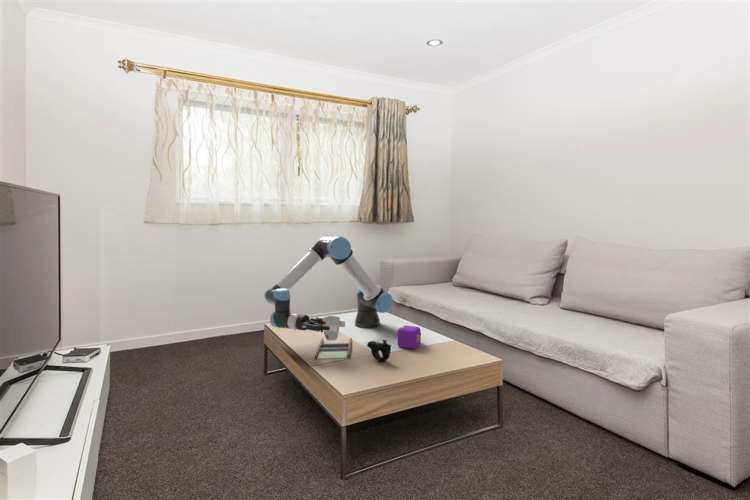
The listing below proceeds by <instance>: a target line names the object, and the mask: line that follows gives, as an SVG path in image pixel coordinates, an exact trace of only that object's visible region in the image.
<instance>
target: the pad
mask: <svg viewBox="0 0 750 500" xmlns="http://www.w3.org/2000/svg"><path fill="white" fill-rule="evenodd" d="M327 359H328V360H330V359H331V360H332V359H334V360H335V359H348V358H347V351H319V354H318V357H317V359H316V360H327Z"/></svg>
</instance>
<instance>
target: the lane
mask: <svg viewBox="0 0 750 500" xmlns="http://www.w3.org/2000/svg"><path fill="white" fill-rule="evenodd" d="M352 339H353V338H352V337H349V340H348V343H349V345H348V351H347V358H346V359H350V355H351V349H352V342H353V341H352ZM321 344H324V338H323V337H322V338H320V341H319V344H318V346H317V349H316V351H315V354H314V355H313V356H314V360H318V359H317V357H318V354H319V351H320V348H321Z"/></svg>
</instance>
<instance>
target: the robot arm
mask: <svg viewBox="0 0 750 500" xmlns="http://www.w3.org/2000/svg"><path fill="white" fill-rule="evenodd" d="M326 258H330V259H331V260H332V262H333V263H334V264H335V265H336V266H340V267H341V269H343V271H344V272H345V273H346V275H347V276H349V278H350V279H351V280H352V282H353V283H354V284H355V285H356V286H357V289H356V302H357V303H356V305H357V307H356V308H357V311H356V316H355V319H354V326H356V327H359V328H365V329H367V328H376V327H378V326H380V325H381V319H380V316H379V313H382V314H384V313H387V312H389V311H390V310H391V309H392V306H393V301H394V300H393V296H392V295H391V294H390V293H389V292H387V291H385V290H384V289H383V288H382V286H381V285H380V284H376V283H375V282H374V280H373V279H372V278H371V277H370V276H369V274H368V273H367V271H366V270H365V269H364V268H363V267H362V265H361V264H360V263H359V261H358V260H357V259H356V258H355V256H354V251H353V250H352V245H351V242H350V241H349V240H348V239H347V238H346V237H343V236H341V235H324V236H322V237H320V238H319V239H318V240H317V241H315V243H313V245H312V246H311V247H309V249H308V252H307V253H306V254H305V255H304V256H303V257H302V258H301V259H300V260H299V261H298V262H297V263H296V264H295V265H294V266H292V268H291V269H290V270H289V271H288V272H287V273H286V274H285V275H284V276H283V277H282V278H281V279H279V280H278V282H277V283H275V285H274V286H272V287H271V288H268V289H266V290H265V291H264V295H263V296H264V299H265V301H266V302H267V303H269V304H272V305H273V306H274V312H272V313H271V315H270V317H269V322H270V325H271V326H272V327H274V328H278V329H289V330H293V331H296V330H297V331H307V330H308V331H314V332H320V333H324V331H333V332H337V326H335V325H326V324H324V325H323V318H324V317H315V318H310V317H309V315H307V314H301V313H291V292H290V291H291V290H292V289H294V287H295V286H296V285H297V284H298V283H299V282H301V280H302V279H303V278H304V277H305V276H306V275H307V274H308V273H309V272H310V271H311V270H312V269H313V268H314V267H315V266H316V265H317V264H318V263H322V261H323V260H324V259H326ZM345 327H346V321H345V320H340V325H339V328H345Z"/></svg>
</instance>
